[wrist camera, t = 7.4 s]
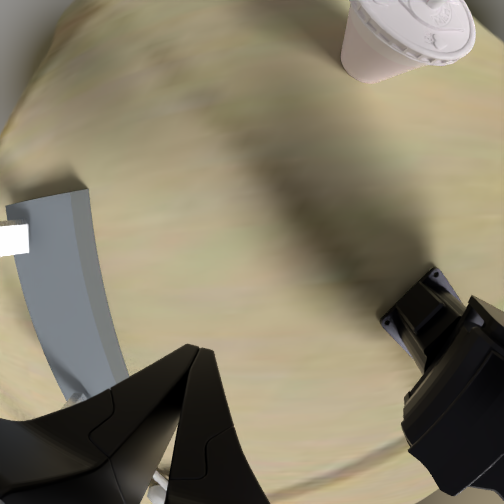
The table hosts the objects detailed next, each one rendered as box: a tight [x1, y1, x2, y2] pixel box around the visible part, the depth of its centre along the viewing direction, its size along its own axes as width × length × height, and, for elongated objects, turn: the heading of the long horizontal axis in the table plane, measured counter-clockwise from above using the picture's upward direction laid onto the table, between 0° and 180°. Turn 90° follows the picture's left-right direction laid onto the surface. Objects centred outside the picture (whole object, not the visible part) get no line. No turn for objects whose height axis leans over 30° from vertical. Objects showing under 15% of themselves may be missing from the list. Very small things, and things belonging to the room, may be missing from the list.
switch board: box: [6, 189, 129, 401], centre depth 23 cm, size 9×23×2 cm, turn 3°
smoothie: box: [341, 0, 476, 83], centre depth 10 cm, size 6×6×14 cm
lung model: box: [147, 470, 168, 504], centre depth 31 cm, size 7×17×25 cm
